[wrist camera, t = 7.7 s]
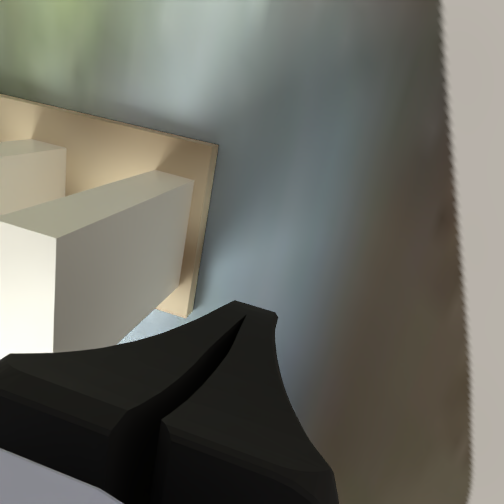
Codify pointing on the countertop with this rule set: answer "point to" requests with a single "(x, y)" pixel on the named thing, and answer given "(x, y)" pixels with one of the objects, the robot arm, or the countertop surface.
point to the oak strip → (122, 167)
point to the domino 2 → (91, 263)
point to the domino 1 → (30, 174)
